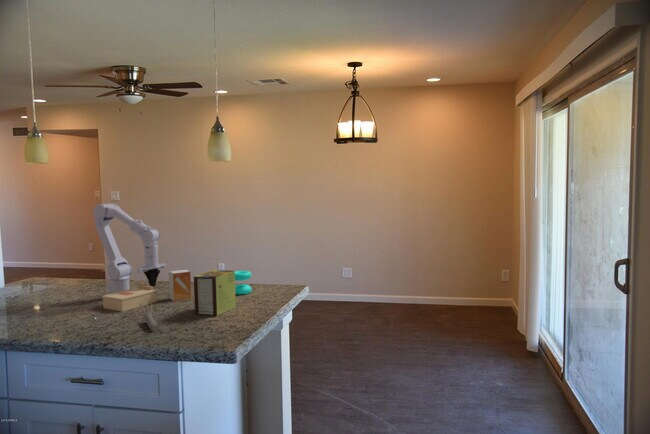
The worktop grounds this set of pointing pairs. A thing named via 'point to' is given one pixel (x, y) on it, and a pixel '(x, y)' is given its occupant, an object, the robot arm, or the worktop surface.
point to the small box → (180, 285)
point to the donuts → (242, 287)
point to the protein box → (214, 292)
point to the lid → (131, 293)
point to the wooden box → (129, 302)
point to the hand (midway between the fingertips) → (152, 286)
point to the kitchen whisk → (149, 319)
